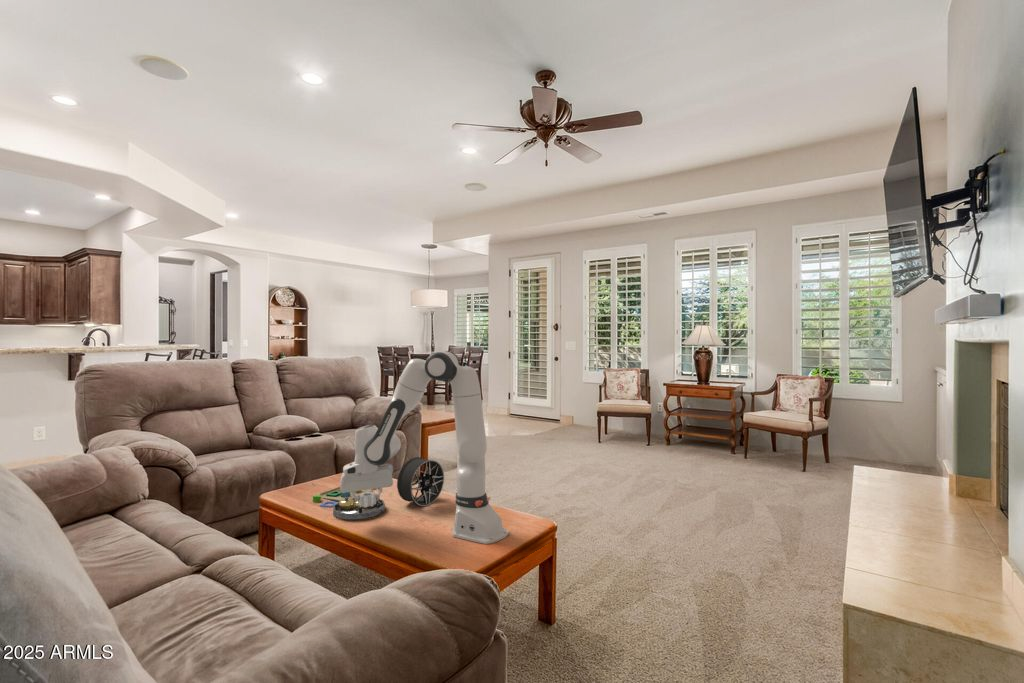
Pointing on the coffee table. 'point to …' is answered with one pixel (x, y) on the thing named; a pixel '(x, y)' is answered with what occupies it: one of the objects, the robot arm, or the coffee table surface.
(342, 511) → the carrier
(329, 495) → the shape sorter
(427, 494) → the wheel rim
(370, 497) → the planet gear
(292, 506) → the coffee table surface
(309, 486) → the coffee table surface
